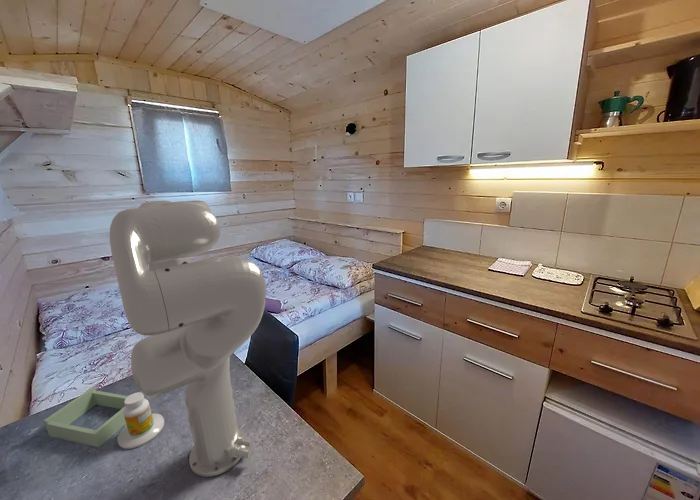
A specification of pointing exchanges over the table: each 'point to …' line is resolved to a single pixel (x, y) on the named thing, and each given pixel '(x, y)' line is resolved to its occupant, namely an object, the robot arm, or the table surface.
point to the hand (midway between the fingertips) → (178, 311)
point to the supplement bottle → (138, 415)
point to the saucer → (134, 442)
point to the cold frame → (76, 408)
